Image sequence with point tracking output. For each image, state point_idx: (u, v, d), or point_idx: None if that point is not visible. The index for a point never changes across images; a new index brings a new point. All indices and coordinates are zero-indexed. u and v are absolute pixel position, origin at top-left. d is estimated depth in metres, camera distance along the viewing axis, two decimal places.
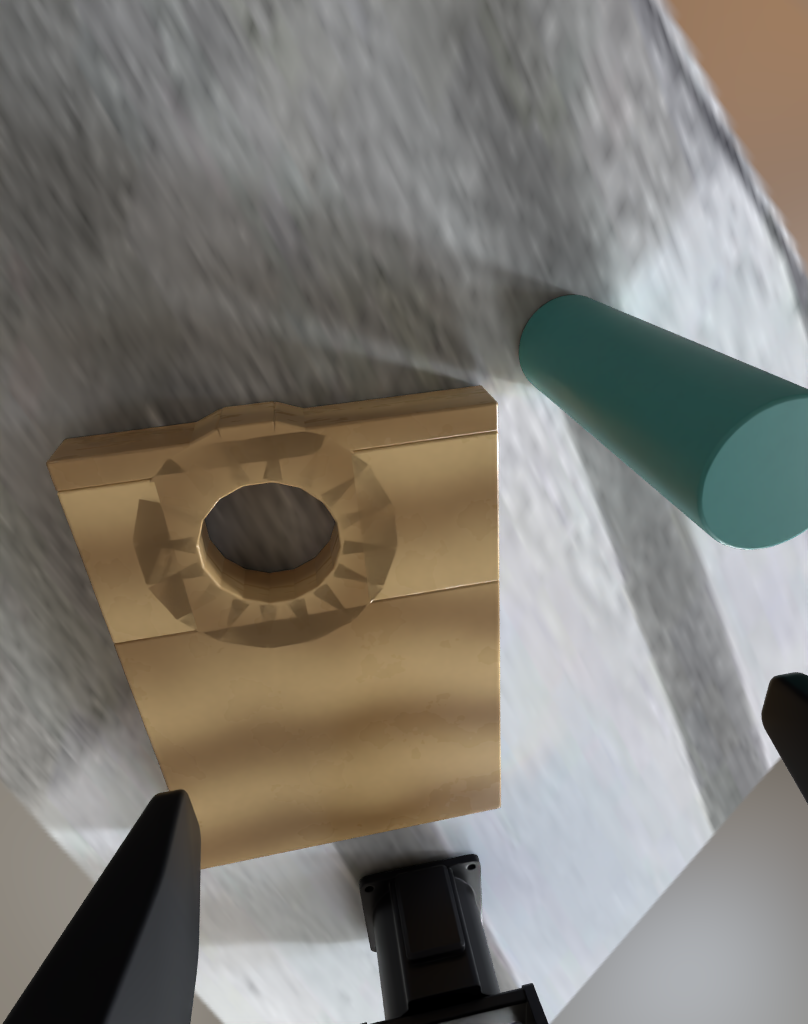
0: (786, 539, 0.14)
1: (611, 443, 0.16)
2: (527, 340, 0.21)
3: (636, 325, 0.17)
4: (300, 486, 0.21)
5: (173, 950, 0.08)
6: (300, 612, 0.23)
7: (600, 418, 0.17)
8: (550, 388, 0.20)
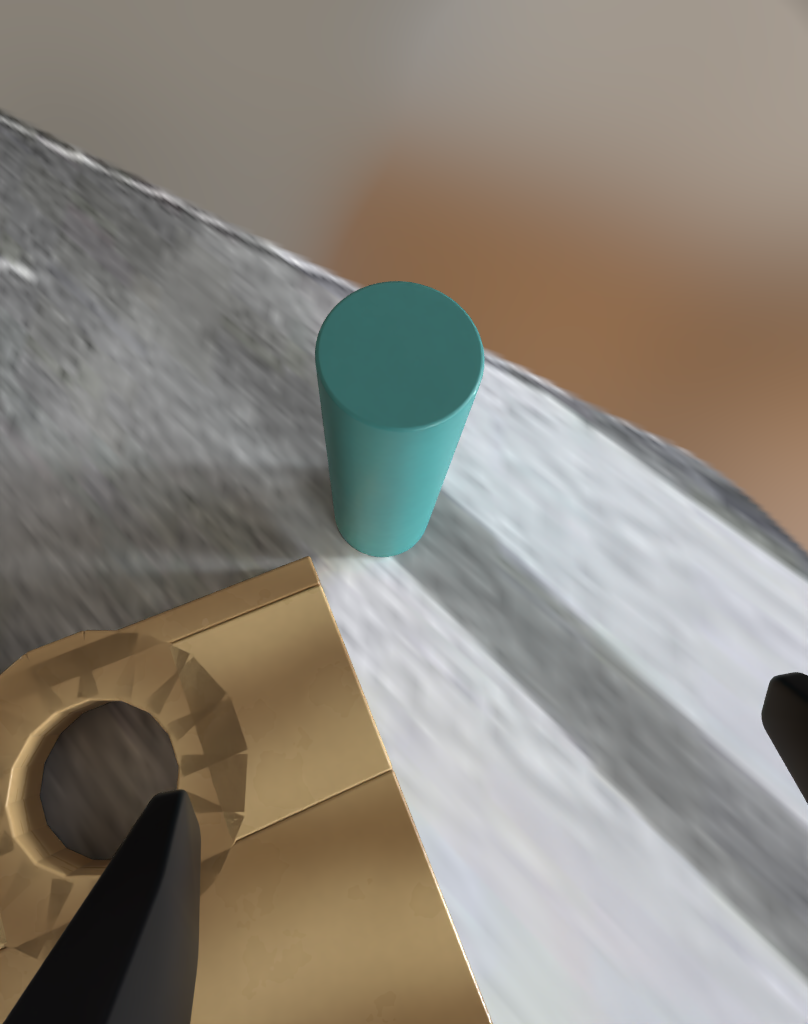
0: (454, 408, 0.13)
1: (342, 475, 0.16)
2: None
3: None
4: (121, 700, 0.19)
5: (173, 950, 0.08)
6: None
7: (331, 465, 0.17)
8: (341, 515, 0.20)
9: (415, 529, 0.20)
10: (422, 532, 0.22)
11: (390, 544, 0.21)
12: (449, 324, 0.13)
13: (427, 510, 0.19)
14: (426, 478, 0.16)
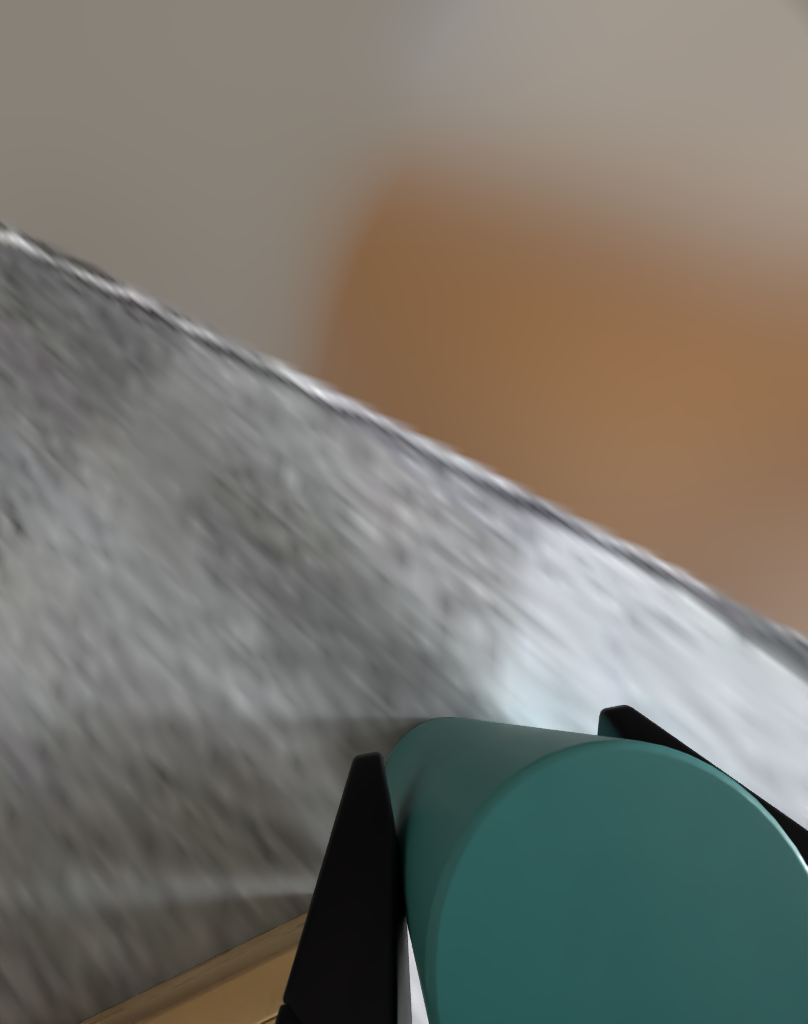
0: None
1: None
2: None
3: (447, 730, 0.11)
4: None
5: (402, 901, 0.08)
6: None
7: None
8: None
9: None
10: None
11: None
12: (748, 869, 0.05)
13: None
14: None
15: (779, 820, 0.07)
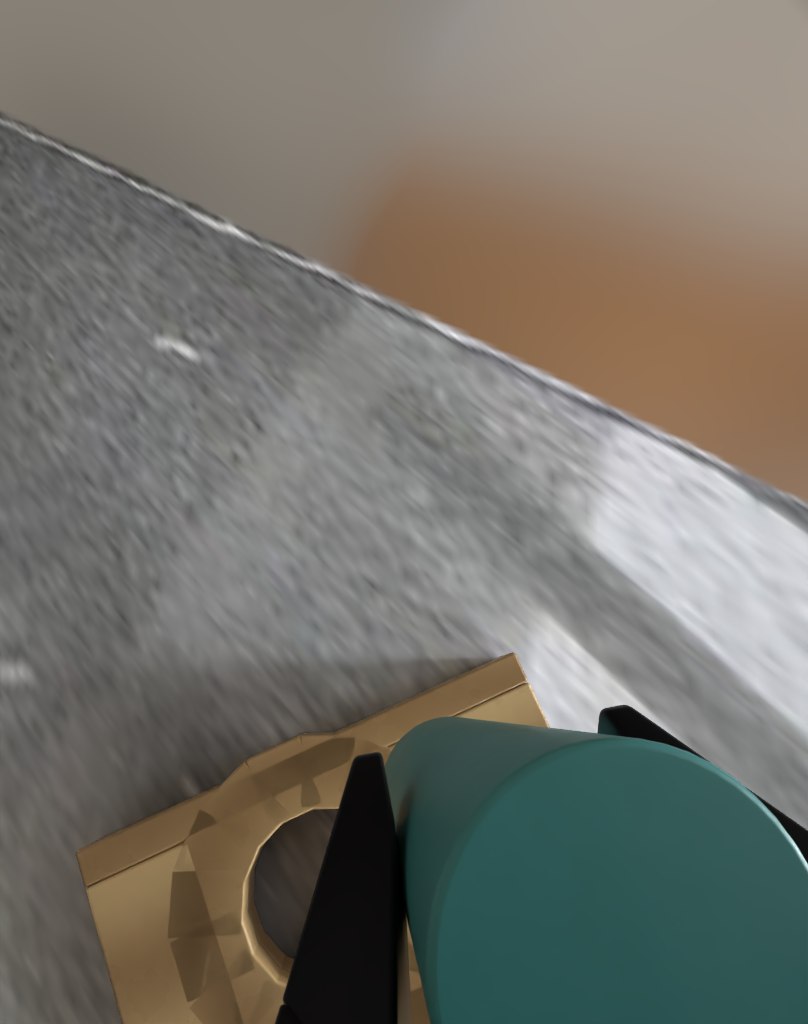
0: None
1: None
2: None
3: (447, 729, 0.11)
4: None
5: (402, 901, 0.08)
6: None
7: None
8: None
9: None
10: None
11: None
12: (748, 867, 0.05)
13: None
14: None
15: (779, 820, 0.07)
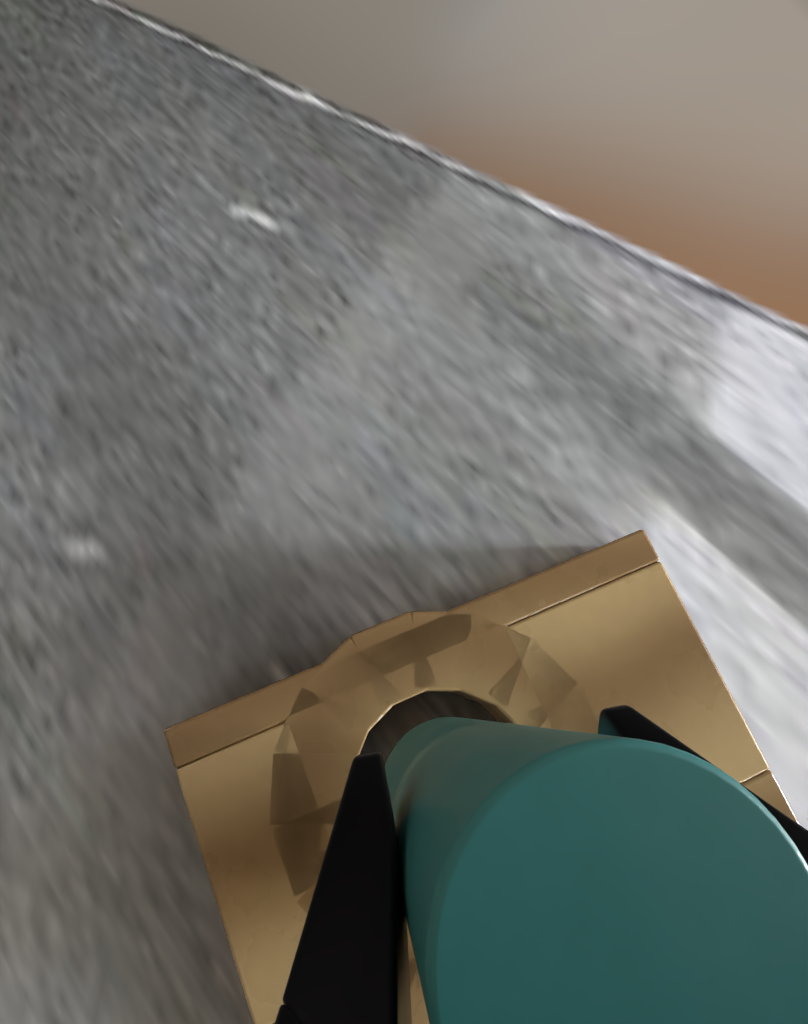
0: None
1: None
2: None
3: (447, 730, 0.11)
4: (460, 690, 0.17)
5: (401, 901, 0.08)
6: None
7: None
8: None
9: None
10: None
11: None
12: (748, 868, 0.05)
13: None
14: None
15: (779, 820, 0.07)
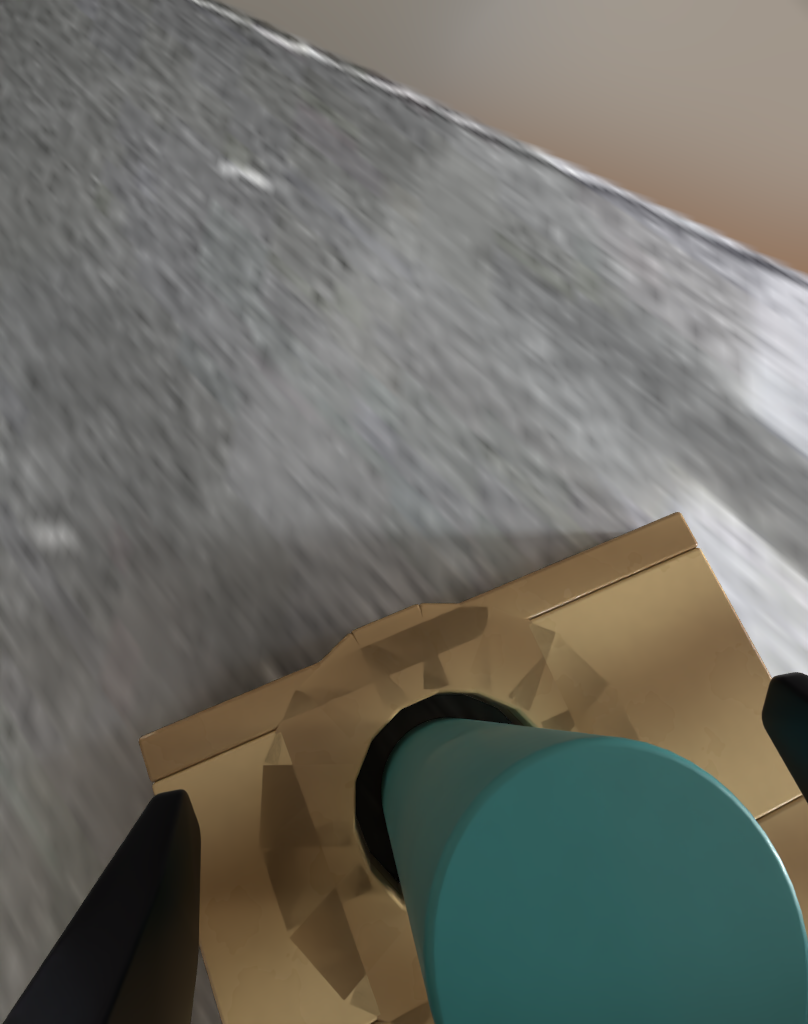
0: None
1: None
2: None
3: (445, 730, 0.12)
4: (476, 693, 0.15)
5: (173, 950, 0.08)
6: None
7: None
8: None
9: None
10: None
11: None
12: (723, 857, 0.06)
13: None
14: None
15: None
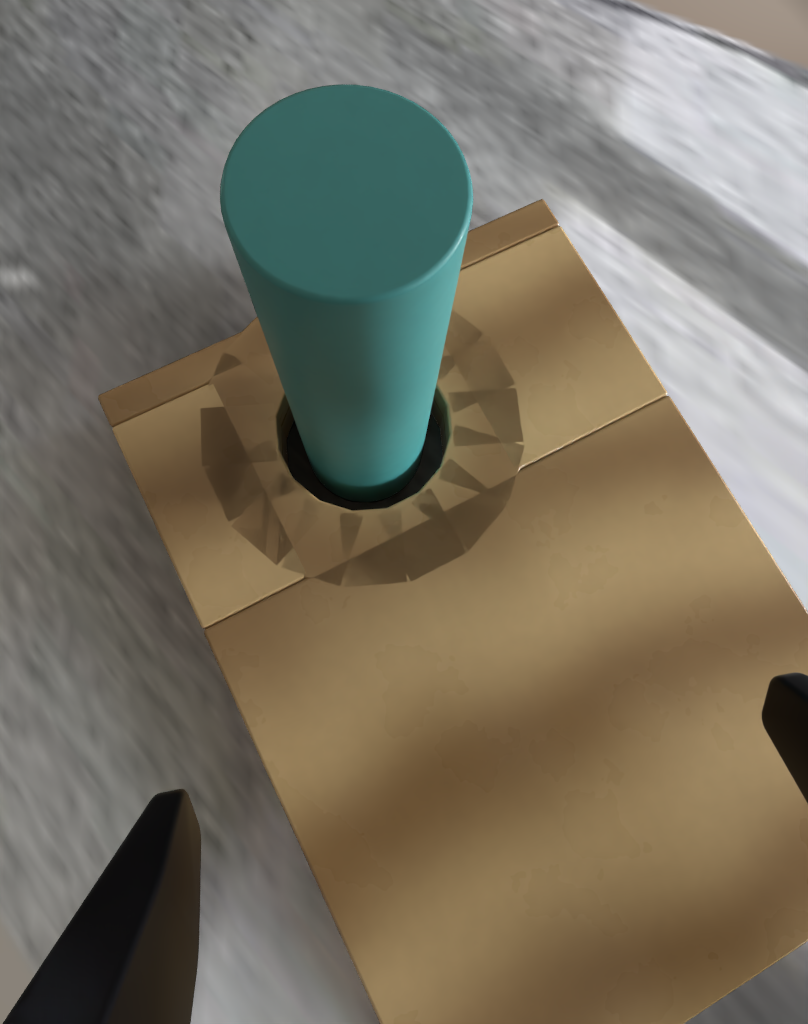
0: (433, 263, 0.08)
1: (296, 393, 0.12)
2: None
3: None
4: None
5: (173, 950, 0.08)
6: (432, 510, 0.17)
7: (283, 383, 0.13)
8: (311, 453, 0.16)
9: (404, 463, 0.17)
10: (415, 468, 0.18)
11: (376, 485, 0.17)
12: (416, 141, 0.09)
13: (416, 436, 0.15)
14: (407, 385, 0.11)
15: None
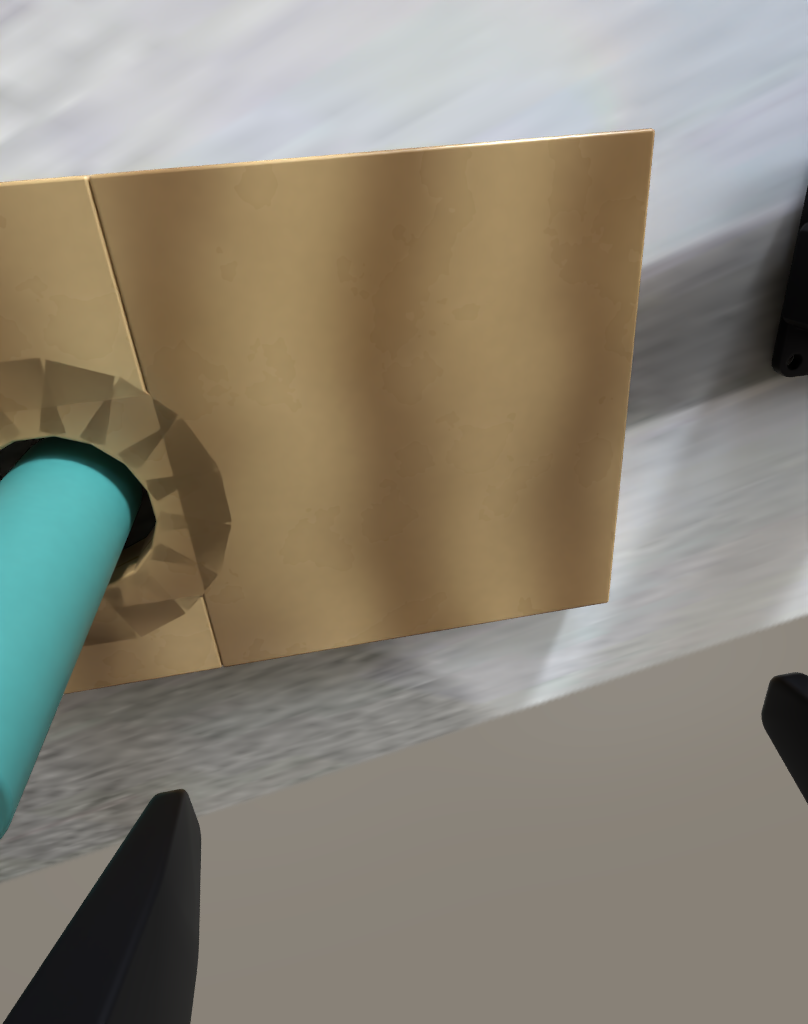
0: None
1: None
2: None
3: None
4: None
5: (173, 950, 0.08)
6: (169, 485, 0.17)
7: None
8: None
9: (116, 508, 0.17)
10: (117, 463, 0.18)
11: (130, 521, 0.18)
12: None
13: (95, 526, 0.15)
14: (62, 640, 0.12)
15: None
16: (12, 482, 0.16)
